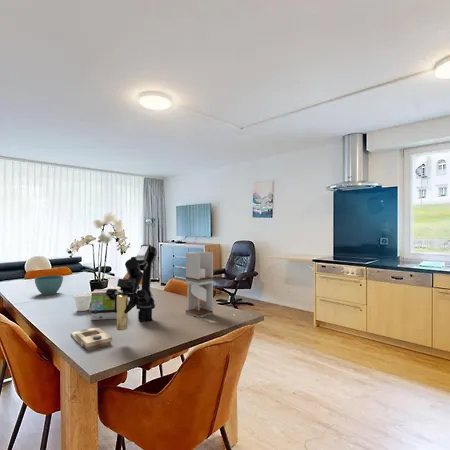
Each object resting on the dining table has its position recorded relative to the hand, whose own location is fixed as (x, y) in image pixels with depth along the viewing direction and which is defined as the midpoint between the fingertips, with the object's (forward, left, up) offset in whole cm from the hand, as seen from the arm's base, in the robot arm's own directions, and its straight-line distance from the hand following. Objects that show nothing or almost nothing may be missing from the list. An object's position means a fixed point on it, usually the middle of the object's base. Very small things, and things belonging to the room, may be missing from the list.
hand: (120, 312), depth 126 cm
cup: (+18, -64, -13) cm, 68 cm away
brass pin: (-1, -1, -7) cm, 7 cm away
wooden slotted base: (+12, -10, -13) cm, 20 cm away
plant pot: (+44, -122, -13) cm, 130 cm away
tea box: (+5, -44, -14) cm, 46 cm away
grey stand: (-44, -31, -13) cm, 56 cm away
